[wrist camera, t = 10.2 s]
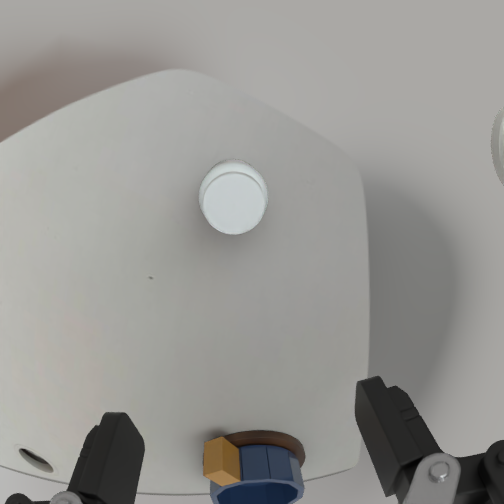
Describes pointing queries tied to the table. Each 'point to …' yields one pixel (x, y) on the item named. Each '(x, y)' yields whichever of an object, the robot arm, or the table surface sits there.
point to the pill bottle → (233, 197)
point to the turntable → (267, 441)
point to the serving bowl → (251, 473)
